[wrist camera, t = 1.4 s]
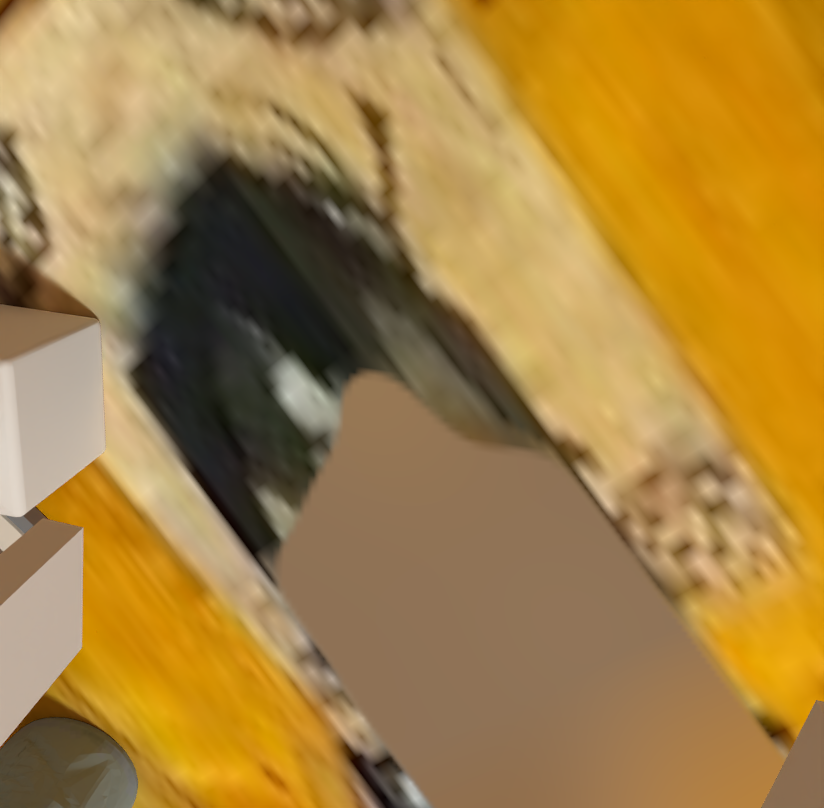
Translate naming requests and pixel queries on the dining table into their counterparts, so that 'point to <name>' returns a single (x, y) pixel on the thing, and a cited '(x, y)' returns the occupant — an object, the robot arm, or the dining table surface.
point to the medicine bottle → (47, 403)
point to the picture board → (17, 527)
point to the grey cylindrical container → (65, 768)
